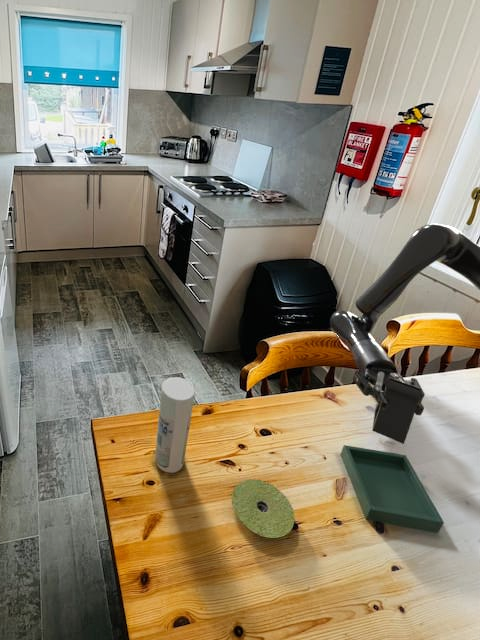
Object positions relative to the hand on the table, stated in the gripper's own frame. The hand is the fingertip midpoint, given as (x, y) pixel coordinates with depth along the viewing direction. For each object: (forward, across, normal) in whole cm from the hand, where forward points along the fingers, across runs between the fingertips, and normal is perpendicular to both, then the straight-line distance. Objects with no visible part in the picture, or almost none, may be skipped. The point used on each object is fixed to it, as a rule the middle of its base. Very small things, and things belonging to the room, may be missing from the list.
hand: (403, 409), depth 86 cm
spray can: (+13, -49, +11) cm, 52 cm away
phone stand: (-2, 0, +7) cm, 8 cm away
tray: (+11, -5, +12) cm, 17 cm away
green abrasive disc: (+21, -31, +12) cm, 40 cm away
